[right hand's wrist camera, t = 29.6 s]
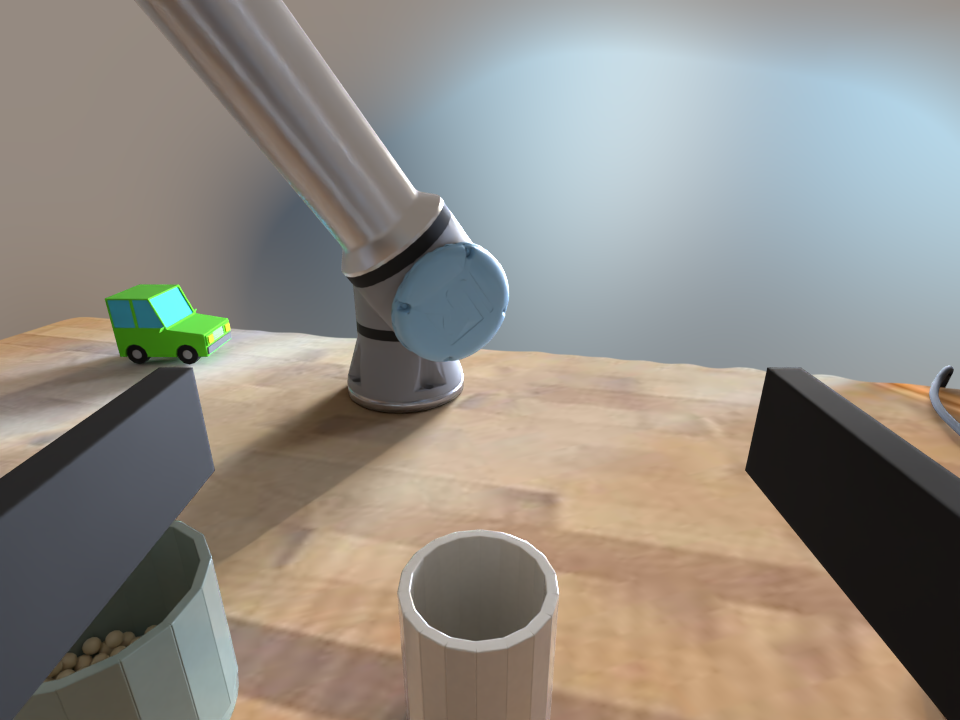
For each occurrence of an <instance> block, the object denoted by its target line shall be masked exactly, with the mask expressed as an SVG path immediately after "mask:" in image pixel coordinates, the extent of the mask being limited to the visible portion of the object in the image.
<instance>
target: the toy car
mask: <svg viewBox="0 0 960 720" xmlns="http://www.w3.org/2000/svg"><path fill="white" fill-rule="evenodd" d="M105 301H106V305H107V309H108V313H109V316H110V320H111V324H112V327H113V331H114V335H115V339H116V342H117V346H118V350H119V353H120V357H127V356H128V357H129V359H130V360H131V361H133V362H134V363H138V364H141V363H145V362H146V361H148V360H149V359H150V357H179V359H180V360H181V361H183V362H184V363H187V364H192V363H195V362H196V361H198V360H199V358H200V357H208V356H209V355H210V354H212V353H213V352H214V351H216V350H217V349H218V348H220V347H221V346H222V345H224V344H225V343H226V342H227V341H229V340H230V339H231V331H230V325H229V321H228V319H227V318H222V317H215V316H209V315H203V314H197V313H195V312H196V309H195V310H193V308H192V306H191V305H190V303H189V301H188V300H187V298H186V296H185V295H184V293H183V291H182V290H181V288H180V286H179V285H137V286H135V287H132V288H130V289H128V290H125V291H122V292H120V293H117V294H115V295H112V296H110V297H108V298H105Z"/></svg>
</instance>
